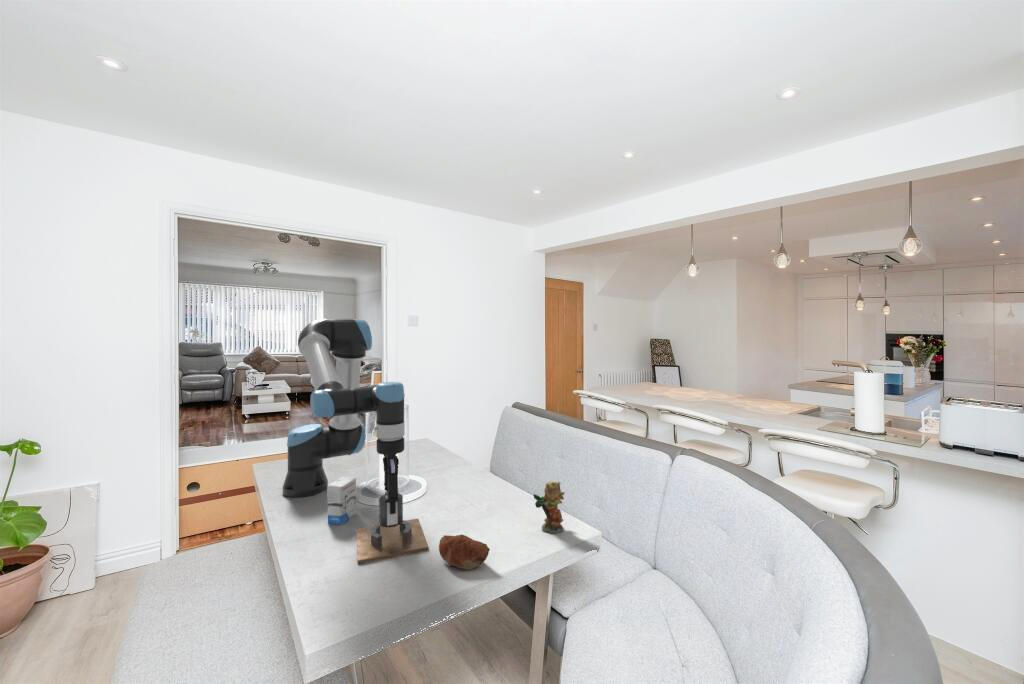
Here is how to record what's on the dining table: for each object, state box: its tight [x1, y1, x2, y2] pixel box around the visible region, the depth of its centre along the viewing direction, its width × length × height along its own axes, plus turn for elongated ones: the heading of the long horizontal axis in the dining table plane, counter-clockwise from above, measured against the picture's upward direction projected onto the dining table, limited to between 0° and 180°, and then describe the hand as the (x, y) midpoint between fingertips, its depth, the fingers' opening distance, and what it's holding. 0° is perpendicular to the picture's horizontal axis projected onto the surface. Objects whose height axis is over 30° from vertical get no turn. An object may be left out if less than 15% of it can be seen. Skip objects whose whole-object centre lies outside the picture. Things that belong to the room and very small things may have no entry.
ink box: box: [326, 476, 357, 525], centre depth 131 cm, size 9×5×12 cm, turn 168°
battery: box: [378, 492, 404, 527], centre depth 117 cm, size 6×6×7 cm
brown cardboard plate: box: [356, 518, 430, 565], centre depth 117 cm, size 18×18×4 cm
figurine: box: [533, 480, 566, 534], centre depth 124 cm, size 9×8×15 cm
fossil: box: [438, 534, 491, 570], centre depth 106 cm, size 13×8×10 cm
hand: (391, 518), depth 117 cm, fingers closed on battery, 6 cm apart
